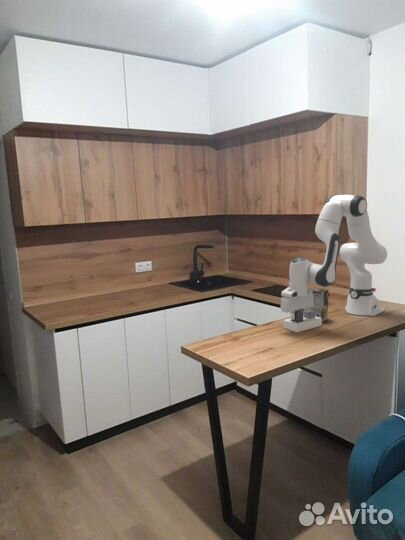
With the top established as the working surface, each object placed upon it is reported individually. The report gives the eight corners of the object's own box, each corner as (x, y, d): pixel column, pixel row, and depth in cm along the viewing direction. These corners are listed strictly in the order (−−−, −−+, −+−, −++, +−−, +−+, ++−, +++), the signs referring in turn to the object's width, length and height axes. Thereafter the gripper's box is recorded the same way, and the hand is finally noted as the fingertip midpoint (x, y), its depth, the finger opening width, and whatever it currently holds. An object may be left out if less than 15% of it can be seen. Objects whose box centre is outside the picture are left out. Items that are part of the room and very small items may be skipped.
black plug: (297, 321, 206) (297, 308, 205) (303, 323, 203) (303, 309, 202) (291, 323, 204) (291, 309, 203) (297, 325, 201) (297, 311, 200)
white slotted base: (307, 321, 215) (307, 308, 214) (321, 325, 208) (321, 312, 207) (283, 327, 205) (283, 314, 204) (296, 332, 198) (297, 318, 196)
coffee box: (316, 316, 223) (317, 287, 221) (327, 319, 219) (329, 289, 217) (309, 320, 216) (310, 290, 214) (320, 322, 212) (322, 292, 210)
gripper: (307, 287, 209) (306, 313, 212) (278, 292, 198) (278, 320, 200) (317, 289, 204) (316, 316, 207) (288, 294, 193) (287, 323, 195)
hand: (297, 318), depth 203 cm, fingers closed on black plug, 4 cm apart
